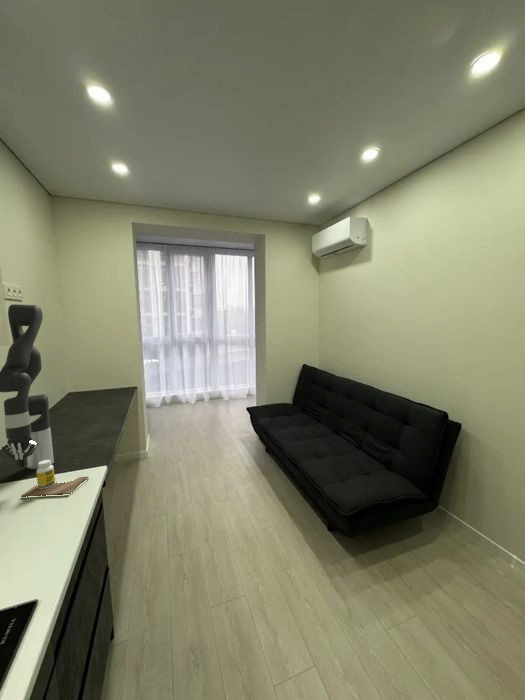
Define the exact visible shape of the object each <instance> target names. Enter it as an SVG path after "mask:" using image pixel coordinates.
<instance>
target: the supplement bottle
mask: <svg viewBox="0 0 525 700" xmlns="http://www.w3.org/2000/svg"><path fill="white" fill-rule="evenodd" d="M50 464H51V460H44V461H41V462H39V463H38V467H39V468H38V469H36V482H37V484H38V488H39V489H46V488H49V487H51V486H53V485H54V484H55V479H56V478H55V470H54V469H55V468H54V465H53V464H51V465H50Z"/></svg>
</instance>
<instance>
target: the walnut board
mask: <svg viewBox="0 0 525 700" xmlns="http://www.w3.org/2000/svg"><path fill="white" fill-rule="evenodd" d="M78 477H79V478H77V479H75V480H74V481H70V482H67V483H65V482H64V483H59V484H58V483H57V482H56V483H55V484H54V485H53V486H51V487H49V488H46V489H39V488H38V486H37V484H36V486H35V485H34V486H33V487H31V488H30V489H28V490H26V491H25V492H24V493H23V494H21V495H20V498H21V497H26V496H27V497H28V496H41V495H42V496H46V495H63V494H71V492H73V491H74V490H75V489H76V488H77V487H78V486H79V485H80V484H81V483H83V482H84V481H85V480H86V479H87V478H89V476H78ZM71 495H72V494H71Z"/></svg>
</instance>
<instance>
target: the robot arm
mask: <svg viewBox="0 0 525 700" xmlns="http://www.w3.org/2000/svg"><path fill="white" fill-rule="evenodd" d="M7 317H8V323H9V324H8V325H9V329H10V333H11V337H12V344H11V345H10V347H9V349H8V352H7V356H6V360H5V363H4V365H3V366H2V368H1V369H0V393H15V392H17V394H16V396H13V397H9V398H7V399H5V400H4V401H3V409H4V410H3V411H4V428H5V437H6V439H7V443H5V445H3V446H1V450H3V451H4V453H5V454H6V455H8V457H9V458H10V459H15V460H16V464H17V465H16V467H17V468H18V470H19V469H20V470H23V469H25V468H26V467H27V469H30V470H37V469H38V468H39V467H38V463H39V462H41V461H44V460H51V464H50V465H53V464H54V462H55V461H54V449H53V440H52V430H51V422H50V407H49V405H50V404H49V403H50V402H49V398H48V395H46V394H45V393H44V394H43V393H42V394H37V395H36V394H35V395H29V393H30V389H31V387H32V385H33V383H34V382H35V380H36V379H37V377H38V376H39V374H40V373H41V371H42V368H43V366H42V356H41V352H40V351H39V350H38V348H37V347H36V346H35V345H34V344H35V340H36V338H37V337H38V334H39V331H40V329H41V326H42V322H43V310H42V308H41V307H40V306H39V305H35V304H19V303H18V304H17V303H16V304H14V303H13V304H10V305H9V307H8V309H7ZM23 327H27V329H26V330H25V332H24V329H23ZM39 415H40V416H39ZM34 416H39V417H38V418H37V419H35V420H33V421H31V417H34Z"/></svg>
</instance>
